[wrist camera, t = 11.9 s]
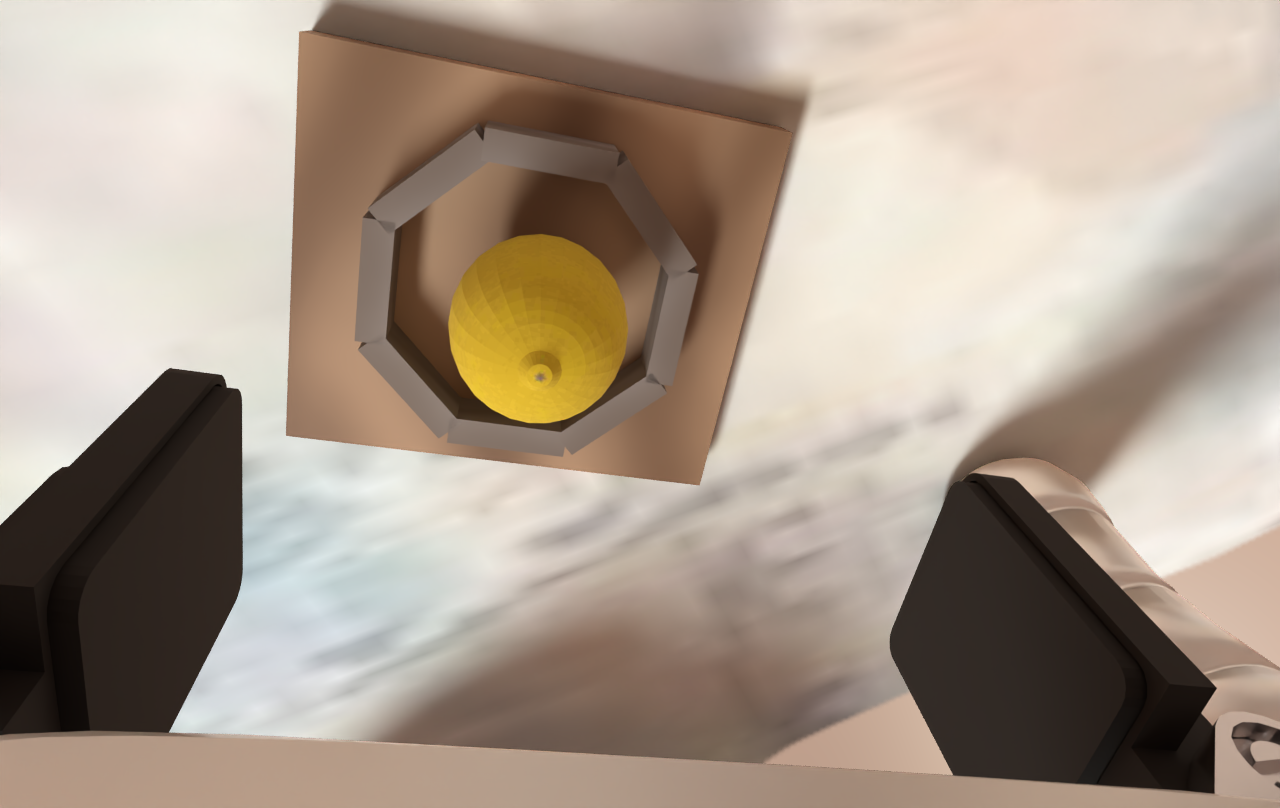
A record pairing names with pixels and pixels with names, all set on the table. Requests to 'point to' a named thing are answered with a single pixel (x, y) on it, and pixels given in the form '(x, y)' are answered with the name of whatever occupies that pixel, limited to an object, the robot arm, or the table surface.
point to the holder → (495, 212)
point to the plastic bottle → (1152, 592)
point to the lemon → (538, 328)
